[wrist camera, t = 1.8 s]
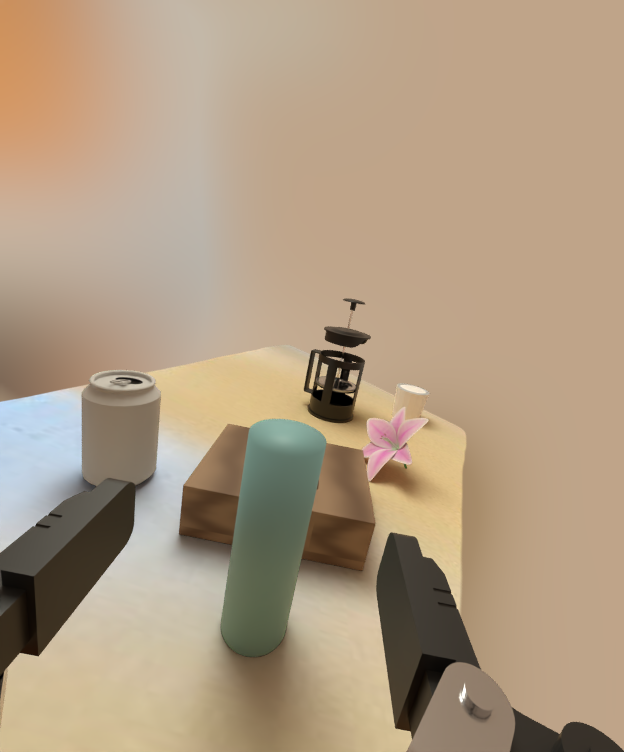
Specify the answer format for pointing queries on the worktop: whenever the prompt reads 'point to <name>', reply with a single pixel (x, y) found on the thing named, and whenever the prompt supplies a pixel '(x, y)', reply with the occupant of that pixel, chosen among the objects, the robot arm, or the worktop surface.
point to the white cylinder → (410, 400)
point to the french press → (333, 398)
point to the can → (120, 426)
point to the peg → (270, 532)
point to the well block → (329, 513)
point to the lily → (390, 441)
